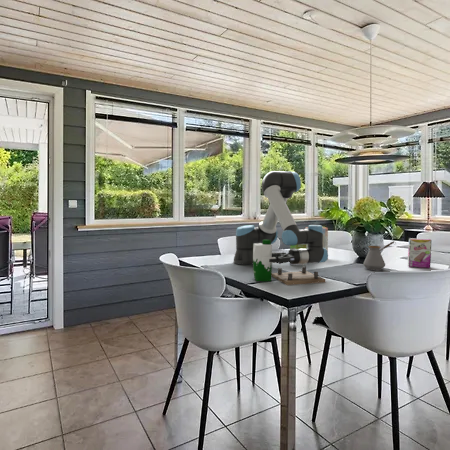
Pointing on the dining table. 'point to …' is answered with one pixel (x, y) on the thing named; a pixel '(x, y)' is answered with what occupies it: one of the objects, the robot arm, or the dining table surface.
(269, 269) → the soya milk
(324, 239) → the cracker box
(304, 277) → the peg board
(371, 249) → the coffee pot
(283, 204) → the robot arm
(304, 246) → the tea box
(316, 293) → the dining table surface
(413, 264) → the candy bar box
